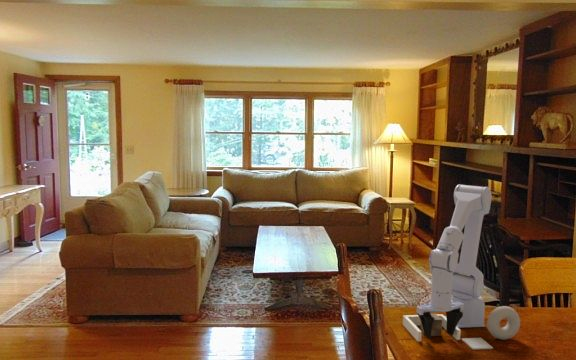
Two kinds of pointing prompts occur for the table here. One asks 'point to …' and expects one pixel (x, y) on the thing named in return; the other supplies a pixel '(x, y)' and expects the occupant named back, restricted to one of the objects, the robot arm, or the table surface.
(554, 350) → the table surface
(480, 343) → the mat
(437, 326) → the block
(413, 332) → the cream u-shaped arch
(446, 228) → the robot arm
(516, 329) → the donut
